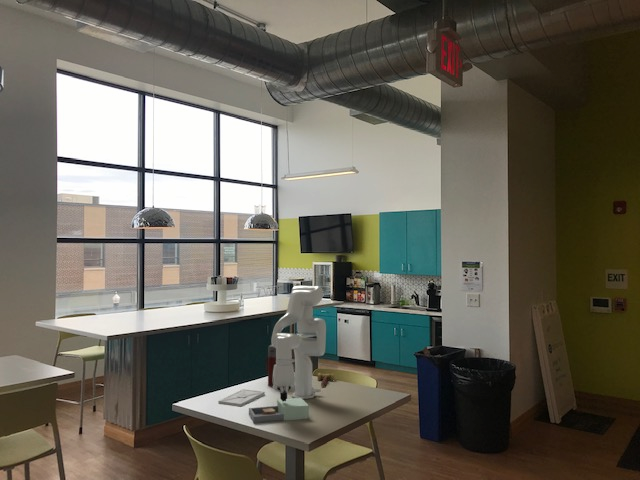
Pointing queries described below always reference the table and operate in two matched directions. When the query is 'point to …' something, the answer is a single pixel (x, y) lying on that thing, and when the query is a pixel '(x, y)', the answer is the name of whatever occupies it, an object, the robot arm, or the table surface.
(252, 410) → the tray
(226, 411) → the table surface
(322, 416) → the table surface
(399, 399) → the table surface
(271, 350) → the red liquor decanter
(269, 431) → the table surface
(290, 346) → the robot arm
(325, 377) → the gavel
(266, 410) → the tile
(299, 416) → the mint green lidded box
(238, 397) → the envelope
